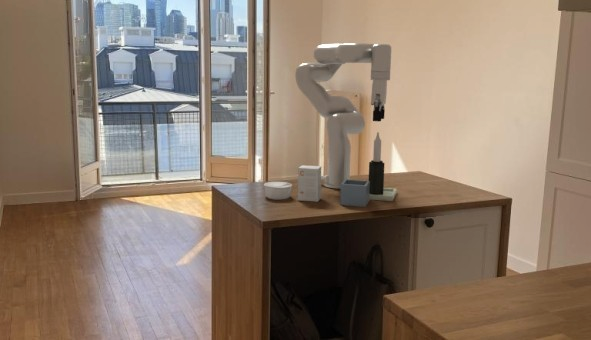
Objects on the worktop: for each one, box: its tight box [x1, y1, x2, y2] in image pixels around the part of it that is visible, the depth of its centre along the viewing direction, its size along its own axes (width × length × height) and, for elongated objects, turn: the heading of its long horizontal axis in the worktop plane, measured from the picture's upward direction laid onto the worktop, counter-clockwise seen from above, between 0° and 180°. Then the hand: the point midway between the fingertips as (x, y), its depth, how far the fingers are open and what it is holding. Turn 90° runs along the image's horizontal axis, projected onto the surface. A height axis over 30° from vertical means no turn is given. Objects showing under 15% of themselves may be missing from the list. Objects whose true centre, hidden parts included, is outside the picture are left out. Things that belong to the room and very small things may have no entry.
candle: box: [368, 131, 385, 195], centre depth 241 cm, size 5×5×25 cm
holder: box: [339, 179, 370, 208], centre depth 230 cm, size 10×10×8 cm
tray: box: [369, 187, 397, 202], centre depth 243 cm, size 15×15×2 cm
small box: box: [297, 164, 322, 203], centre depth 234 cm, size 8×6×13 cm
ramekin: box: [263, 181, 293, 201], centre depth 238 cm, size 11×11×5 cm
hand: (378, 120), depth 238 cm, fingers open, 9 cm apart
